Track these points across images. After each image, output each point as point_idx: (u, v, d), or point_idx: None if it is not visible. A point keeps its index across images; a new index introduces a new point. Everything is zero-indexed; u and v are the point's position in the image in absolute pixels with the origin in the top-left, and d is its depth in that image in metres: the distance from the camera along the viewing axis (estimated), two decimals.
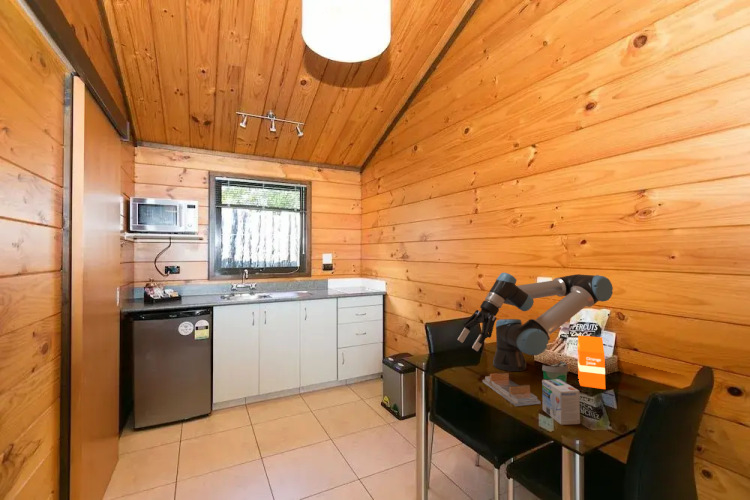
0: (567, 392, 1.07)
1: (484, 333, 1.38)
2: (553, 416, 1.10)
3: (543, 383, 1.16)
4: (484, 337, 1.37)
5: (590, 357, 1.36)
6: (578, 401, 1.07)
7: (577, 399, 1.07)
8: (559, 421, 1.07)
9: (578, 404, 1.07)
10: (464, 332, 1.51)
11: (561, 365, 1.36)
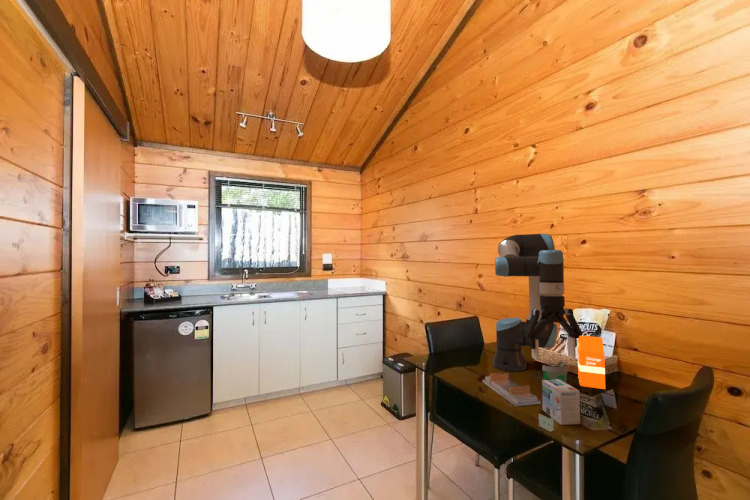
0: (567, 392, 1.07)
1: None
2: (553, 416, 1.10)
3: (543, 383, 1.16)
4: None
5: (590, 357, 1.36)
6: (578, 401, 1.07)
7: (577, 399, 1.07)
8: (559, 421, 1.07)
9: (578, 404, 1.07)
10: None
11: (561, 365, 1.36)
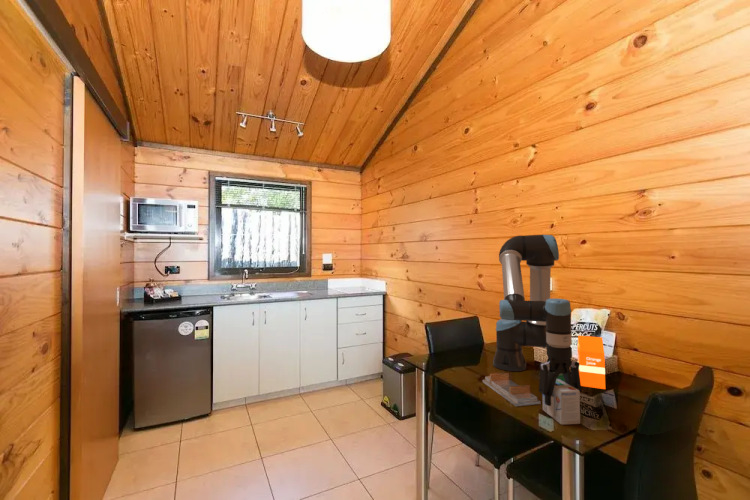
0: (567, 392, 1.07)
1: None
2: None
3: None
4: None
5: (590, 357, 1.36)
6: (578, 401, 1.07)
7: (577, 399, 1.07)
8: (559, 421, 1.07)
9: (578, 404, 1.07)
10: None
11: None
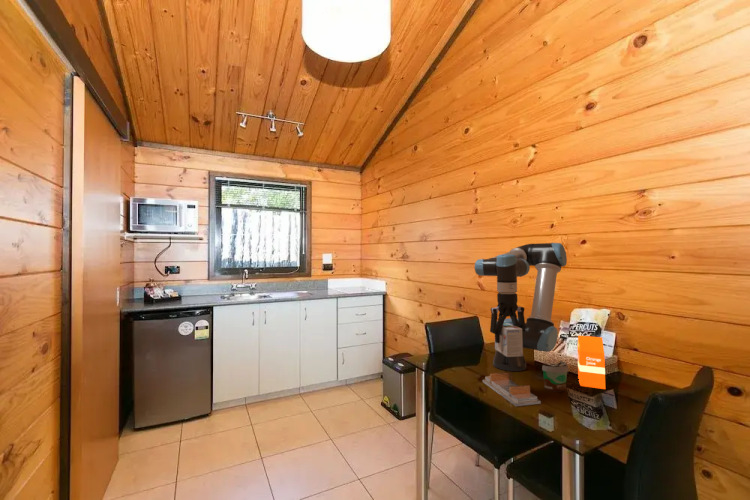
0: (512, 330, 1.28)
1: None
2: None
3: None
4: None
5: (590, 357, 1.36)
6: (521, 337, 1.28)
7: (520, 335, 1.28)
8: (505, 354, 1.28)
9: (521, 340, 1.28)
10: None
11: (561, 365, 1.36)
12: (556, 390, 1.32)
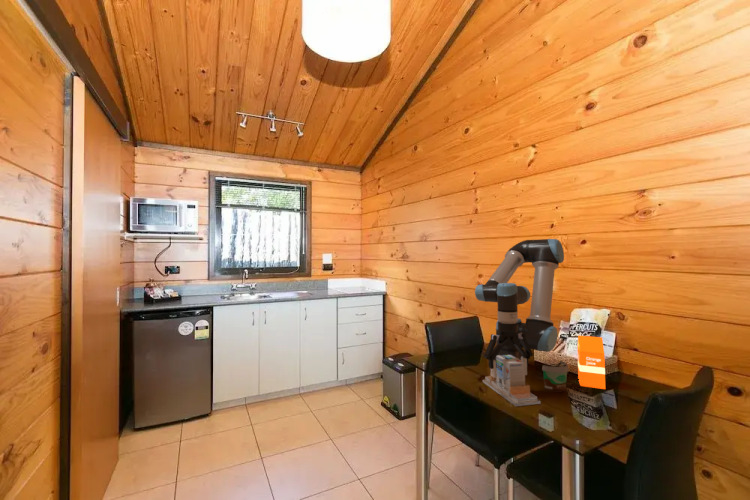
0: (514, 364, 1.27)
1: (527, 355, 1.33)
2: (504, 385, 1.31)
3: (497, 358, 1.37)
4: None
5: (590, 357, 1.36)
6: (524, 371, 1.28)
7: (523, 369, 1.28)
8: (508, 388, 1.28)
9: (524, 373, 1.28)
10: None
11: (561, 365, 1.36)
12: (556, 390, 1.32)
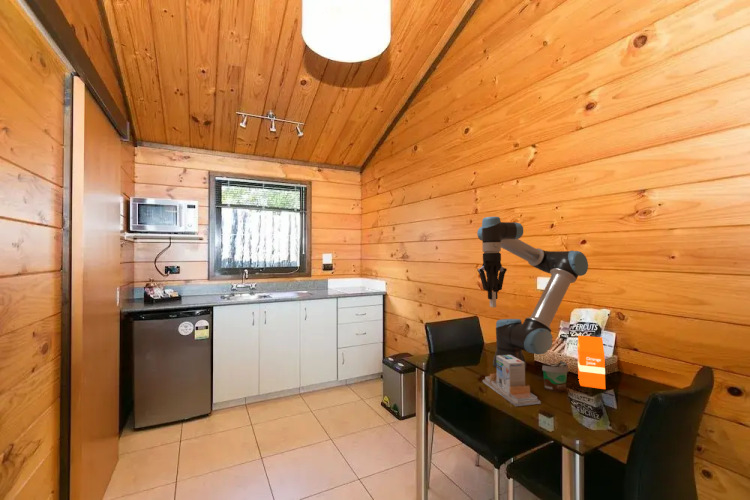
0: (514, 364, 1.27)
1: None
2: (504, 385, 1.31)
3: (497, 358, 1.37)
4: None
5: (590, 357, 1.36)
6: (524, 371, 1.28)
7: (523, 369, 1.28)
8: (508, 388, 1.28)
9: (524, 373, 1.28)
10: None
11: (561, 365, 1.36)
12: (556, 390, 1.32)
